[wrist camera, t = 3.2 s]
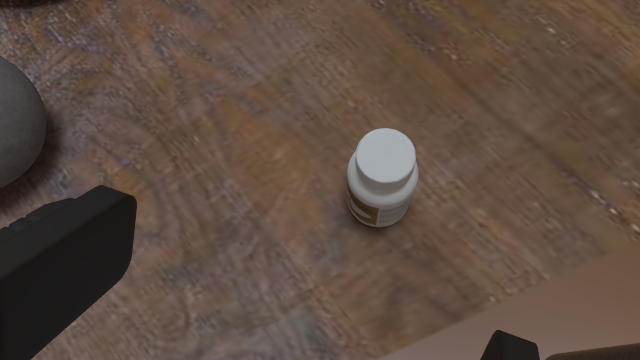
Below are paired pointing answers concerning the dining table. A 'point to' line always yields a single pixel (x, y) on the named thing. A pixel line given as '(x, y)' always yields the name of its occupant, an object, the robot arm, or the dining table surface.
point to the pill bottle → (381, 177)
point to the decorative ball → (19, 123)
